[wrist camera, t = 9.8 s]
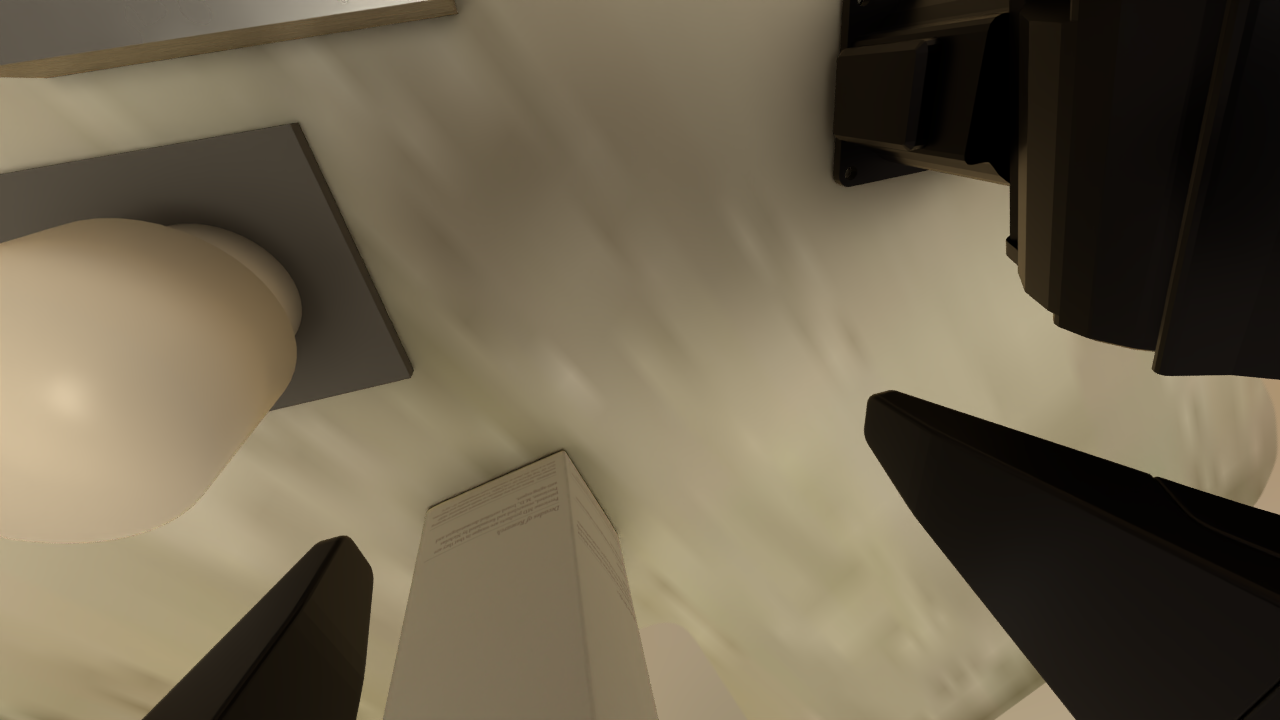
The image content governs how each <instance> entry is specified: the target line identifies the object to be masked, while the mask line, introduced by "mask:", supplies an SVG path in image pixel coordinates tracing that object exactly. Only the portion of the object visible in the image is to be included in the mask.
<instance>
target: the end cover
mask: <svg viewBox="0 0 1280 720" xmlns="http://www.w3.org/2000/svg"><path fill="white" fill-rule="evenodd" d="M301 318H302V304H301V298H300V295H299V292H298V289H297V287H296V285H295V283H294V281H293V279H292V278H291V276H290V275H289V273H288V272H287V271H286V269H285V268H284V267H283V266H282V265H281V263H280V262H279V261H277V260H276V259H275V258H274V257H273V256H272V255H271V254H270V253H269V252H267V251H266V250H265V249H263V248H262V247H260V246H259V245H257V244H256V243H254V242H253V241H251V240H249V239H247V238H245V237H243V236H241V235H239V234H236V233H234V232H231V231H228V230H225V229H222V228H219V227H214V226H209V225H202V224H176V225H169V226H163V225H160V224H155V223H150V222H145V221H140V220H132V219H122V218H96V219H88V220H80V221H75V222H72V223H68V224H64V225H60V226H57V227H53V228H50V229H47V230H43V231H40V232H37V233H33V234H30V235H27V236H23V237H20V238H17V239H13V240H10V241H7V242H3V243H0V537H1V538H7V539H13V540H20V541H30V542H41V543H66V544H70V543H92V542H101V541H109V540H116V539H121V538H125V537H130V536H134V535H138V534H141V533H144V532H148V531H151V530H153V529H156V528H158V527H160V526H163V525H165V524H167V523H169V522H171V521H172V520H174V519H176V518H178V517H179V516H181V515H182V514H184V513H185V512H186V511H187V510H189V509H190V508H191V507H192V506H194V505H195V504H196V502H197V501H198V500H199V499H200V498H201V497H202V496H203V495H204V493H205V492H206V491H207V489H208V488H209V487H210V486H211V484H212V483H213V482H214V481H215V479H216V478H217V477H218V475H219V474H220V473H221V472H222V470H223V469H224V468H225V466H226V465H227V464H228V463H229V461H230V460H231V459H232V457H233V456H234V455H235V454H236V452H237V451H238V450H239V449H240V447H241V446H242V445H243V443H244V442H245V441H246V440H247V438H248V437H249V436H250V434H251V433H252V432H253V431H254V429H255V428H256V427H257V425H258V424H259V423H260V422H261V420H262V419H263V418H264V416H265V415H266V414H267V413H268V411H269V410H270V409H271V408H272V406H273V405H274V404H275V402H276V401H277V400H278V399H279V397H280V396H281V395H282V393H283V392H284V391H285V389H286V388H287V386H288V384H289V383H290V381H291V379H292V376H293V373H294V371H295V365H296V360H297V346H296V340H295V334H296V333H297V331H298V329H299V326H300V323H301Z"/></svg>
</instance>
